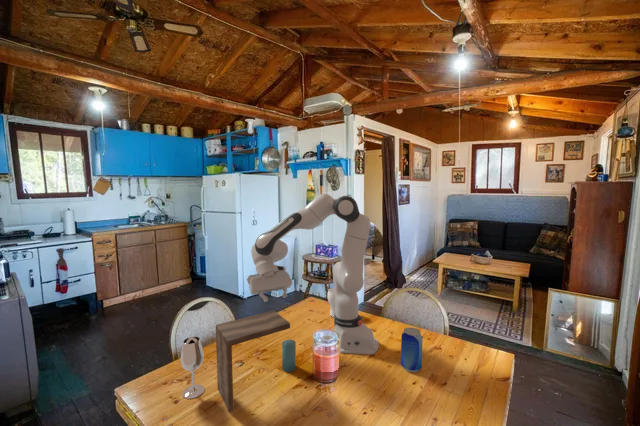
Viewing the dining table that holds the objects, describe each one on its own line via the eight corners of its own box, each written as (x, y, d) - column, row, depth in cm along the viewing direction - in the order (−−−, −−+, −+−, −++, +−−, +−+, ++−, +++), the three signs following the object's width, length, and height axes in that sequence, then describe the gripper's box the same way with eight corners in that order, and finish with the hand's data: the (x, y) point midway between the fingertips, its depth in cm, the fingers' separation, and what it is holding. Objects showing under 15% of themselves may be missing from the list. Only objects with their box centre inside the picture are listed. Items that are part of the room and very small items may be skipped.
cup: (328, 310, 183) (328, 287, 181) (345, 311, 181) (345, 287, 180) (326, 318, 172) (326, 293, 171) (344, 319, 171) (344, 294, 169)
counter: (217, 388, 111) (215, 324, 109) (274, 367, 125) (273, 310, 122) (228, 412, 100) (227, 341, 98) (290, 386, 113) (289, 323, 111)
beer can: (397, 367, 125) (397, 331, 123) (406, 359, 131) (407, 324, 129) (416, 376, 119) (417, 338, 118) (425, 367, 125) (426, 330, 124)
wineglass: (196, 400, 105) (194, 346, 104) (177, 397, 107) (174, 344, 105) (209, 386, 113) (207, 336, 111) (190, 383, 114) (188, 334, 113)
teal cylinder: (297, 365, 126) (297, 340, 126) (292, 373, 121) (292, 347, 120) (285, 363, 128) (285, 338, 127) (280, 370, 123) (279, 345, 122)
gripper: (247, 272, 134) (256, 300, 127) (287, 266, 145) (297, 291, 138) (244, 279, 138) (252, 306, 131) (283, 273, 149) (292, 297, 142)
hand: (275, 299), depth 134 cm, fingers open, 8 cm apart
